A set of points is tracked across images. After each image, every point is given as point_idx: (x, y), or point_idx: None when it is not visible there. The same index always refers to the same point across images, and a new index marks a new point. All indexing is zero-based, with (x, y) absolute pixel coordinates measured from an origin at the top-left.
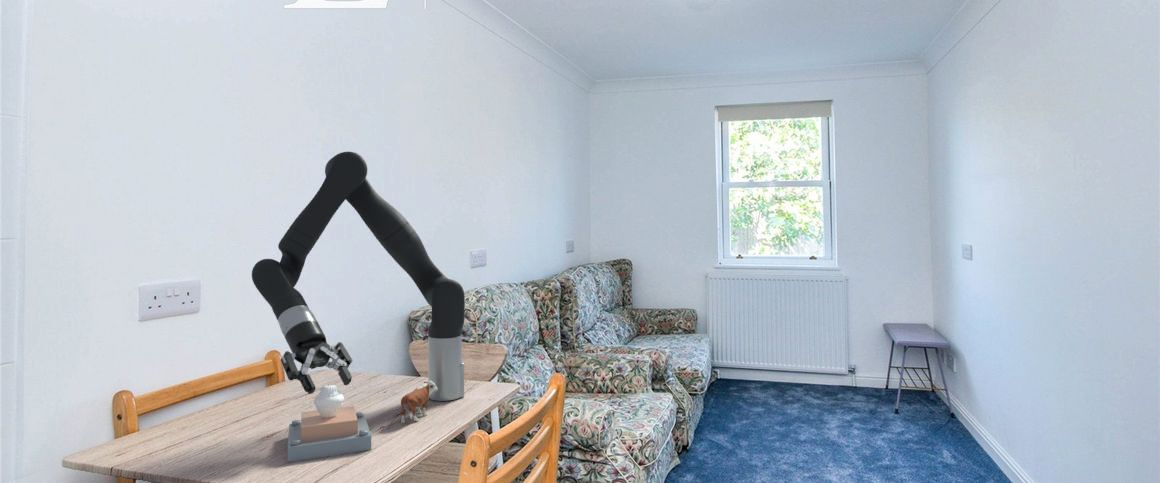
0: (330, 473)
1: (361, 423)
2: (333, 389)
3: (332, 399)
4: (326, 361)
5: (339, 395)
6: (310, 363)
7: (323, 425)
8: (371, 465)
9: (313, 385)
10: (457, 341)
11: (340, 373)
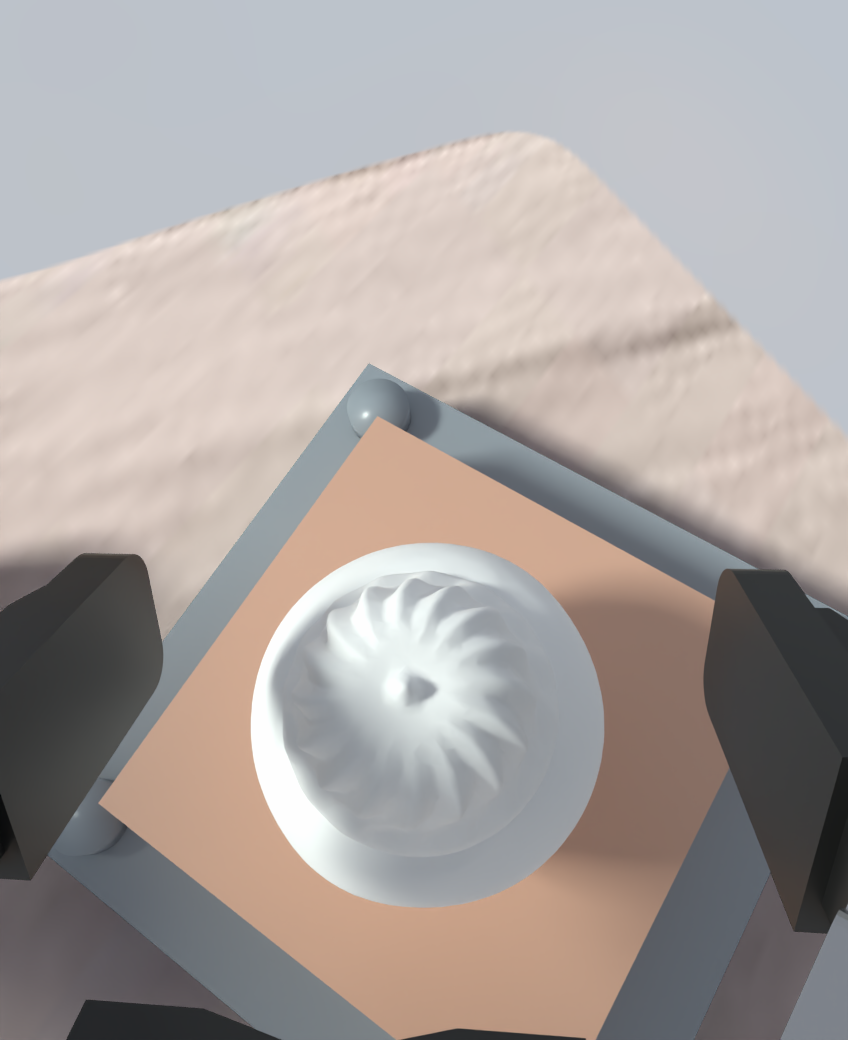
0: (727, 312)
1: (215, 635)
2: (412, 585)
3: (476, 556)
4: (122, 1029)
5: (356, 580)
6: (844, 939)
7: (613, 550)
8: (529, 241)
9: (760, 588)
10: None
11: (48, 786)
